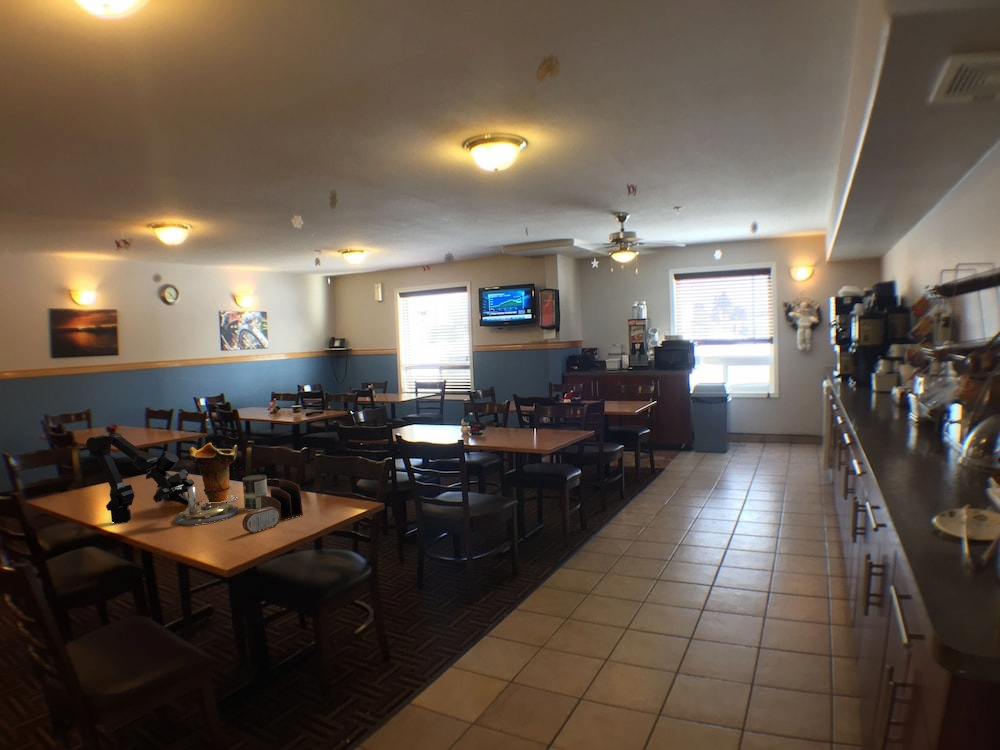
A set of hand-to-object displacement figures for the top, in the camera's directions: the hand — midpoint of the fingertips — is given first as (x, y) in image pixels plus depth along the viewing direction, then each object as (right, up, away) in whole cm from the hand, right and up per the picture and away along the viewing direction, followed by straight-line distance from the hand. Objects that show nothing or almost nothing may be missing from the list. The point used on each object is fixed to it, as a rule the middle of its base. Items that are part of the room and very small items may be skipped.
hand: (187, 504), depth 252 cm
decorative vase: (-4, -6, +35) cm, 35 cm away
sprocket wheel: (+4, -5, +8) cm, 11 cm away
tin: (+38, -7, -15) cm, 41 cm away
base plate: (+4, -7, +8) cm, 12 cm away
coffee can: (+22, -6, +19) cm, 29 cm away
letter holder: (+38, -6, +6) cm, 39 cm away
